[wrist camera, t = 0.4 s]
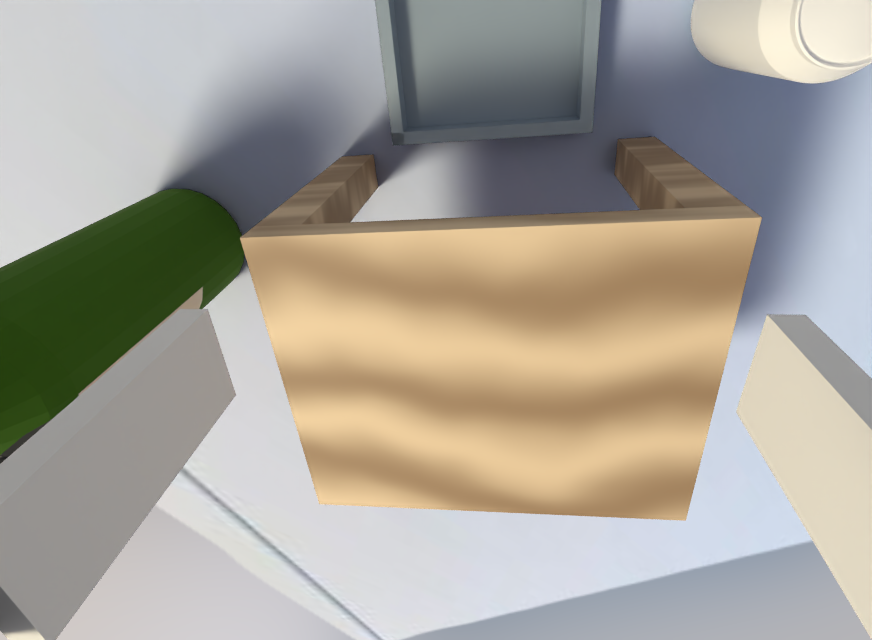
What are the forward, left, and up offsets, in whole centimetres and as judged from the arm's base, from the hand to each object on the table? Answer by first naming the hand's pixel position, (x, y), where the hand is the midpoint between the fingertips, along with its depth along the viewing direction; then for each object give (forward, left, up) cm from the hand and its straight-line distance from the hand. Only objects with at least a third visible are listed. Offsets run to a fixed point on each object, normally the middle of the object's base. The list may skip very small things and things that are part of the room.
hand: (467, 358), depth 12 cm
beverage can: (-7, +15, -27) cm, 31 cm away
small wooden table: (+9, 0, -27) cm, 28 cm away
